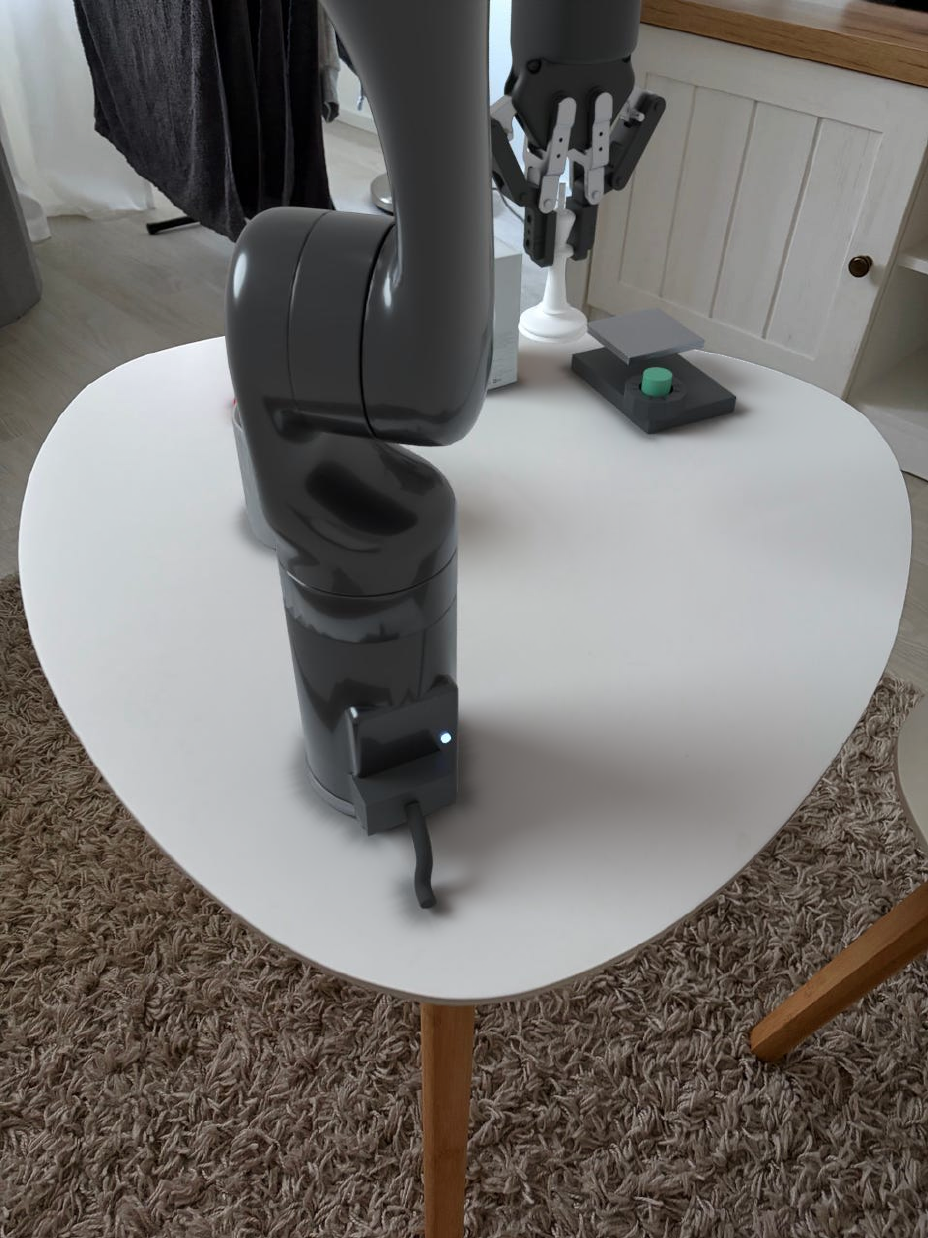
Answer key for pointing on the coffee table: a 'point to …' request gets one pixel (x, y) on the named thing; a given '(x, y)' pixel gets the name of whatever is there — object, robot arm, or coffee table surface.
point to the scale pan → (644, 335)
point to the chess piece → (556, 292)
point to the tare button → (656, 381)
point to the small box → (506, 314)
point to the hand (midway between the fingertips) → (558, 258)
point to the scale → (684, 404)
